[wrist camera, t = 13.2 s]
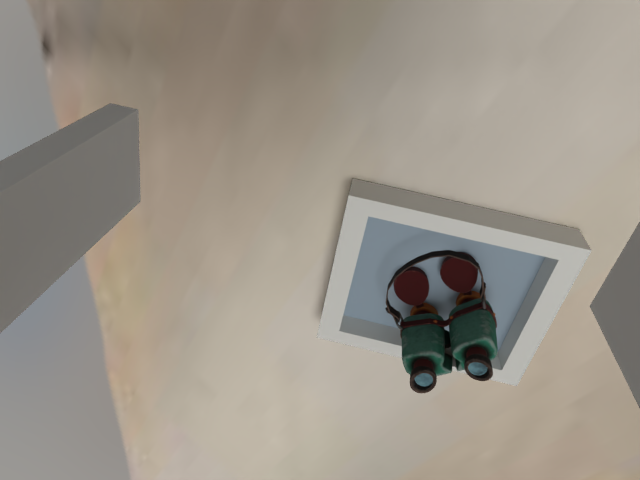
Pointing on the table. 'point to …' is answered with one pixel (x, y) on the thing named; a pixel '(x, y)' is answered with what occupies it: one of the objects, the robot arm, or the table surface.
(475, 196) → the table surface
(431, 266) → the case
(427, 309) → the binoculars
